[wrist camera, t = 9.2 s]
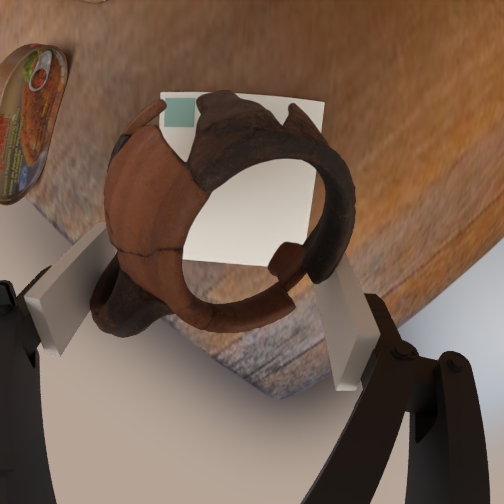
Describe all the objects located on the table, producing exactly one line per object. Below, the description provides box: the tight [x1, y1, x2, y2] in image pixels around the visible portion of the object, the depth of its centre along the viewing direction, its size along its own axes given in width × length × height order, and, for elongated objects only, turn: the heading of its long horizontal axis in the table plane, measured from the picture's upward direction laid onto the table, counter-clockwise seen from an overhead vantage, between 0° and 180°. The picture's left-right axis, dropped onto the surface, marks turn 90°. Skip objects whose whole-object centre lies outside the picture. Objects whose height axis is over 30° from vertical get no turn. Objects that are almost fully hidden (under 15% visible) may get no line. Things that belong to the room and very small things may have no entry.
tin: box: [0, 44, 68, 205], centre depth 21 cm, size 15×3×8 cm, turn 154°
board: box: [159, 92, 325, 266], centre depth 27 cm, size 13×15×2 cm
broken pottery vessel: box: [90, 90, 356, 338], centre depth 13 cm, size 12×10×8 cm
